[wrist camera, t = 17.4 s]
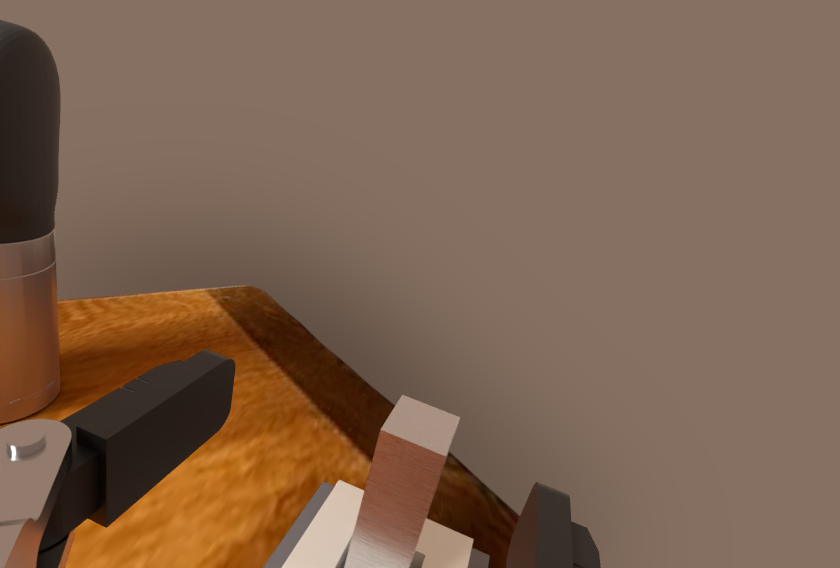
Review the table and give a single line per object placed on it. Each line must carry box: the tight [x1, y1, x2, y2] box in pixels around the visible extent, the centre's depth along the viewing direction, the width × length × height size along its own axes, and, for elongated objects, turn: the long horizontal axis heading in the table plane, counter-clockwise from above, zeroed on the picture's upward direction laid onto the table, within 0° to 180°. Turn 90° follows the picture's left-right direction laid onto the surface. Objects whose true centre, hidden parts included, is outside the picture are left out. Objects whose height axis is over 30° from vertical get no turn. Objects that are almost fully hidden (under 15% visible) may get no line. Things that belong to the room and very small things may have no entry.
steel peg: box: [344, 395, 460, 568], centre depth 30 cm, size 4×4×16 cm
